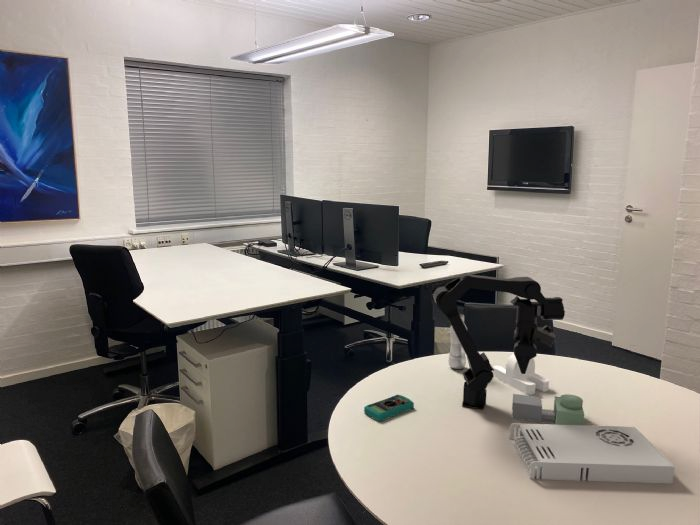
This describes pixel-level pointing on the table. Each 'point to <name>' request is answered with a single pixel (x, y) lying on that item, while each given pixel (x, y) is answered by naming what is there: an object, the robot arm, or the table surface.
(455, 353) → the plastic bottle
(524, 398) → the chute
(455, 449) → the table surface
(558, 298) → the robot arm
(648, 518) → the table surface
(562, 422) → the green domed block
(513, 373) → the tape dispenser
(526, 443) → the power supply unit
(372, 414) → the digital multimeter
